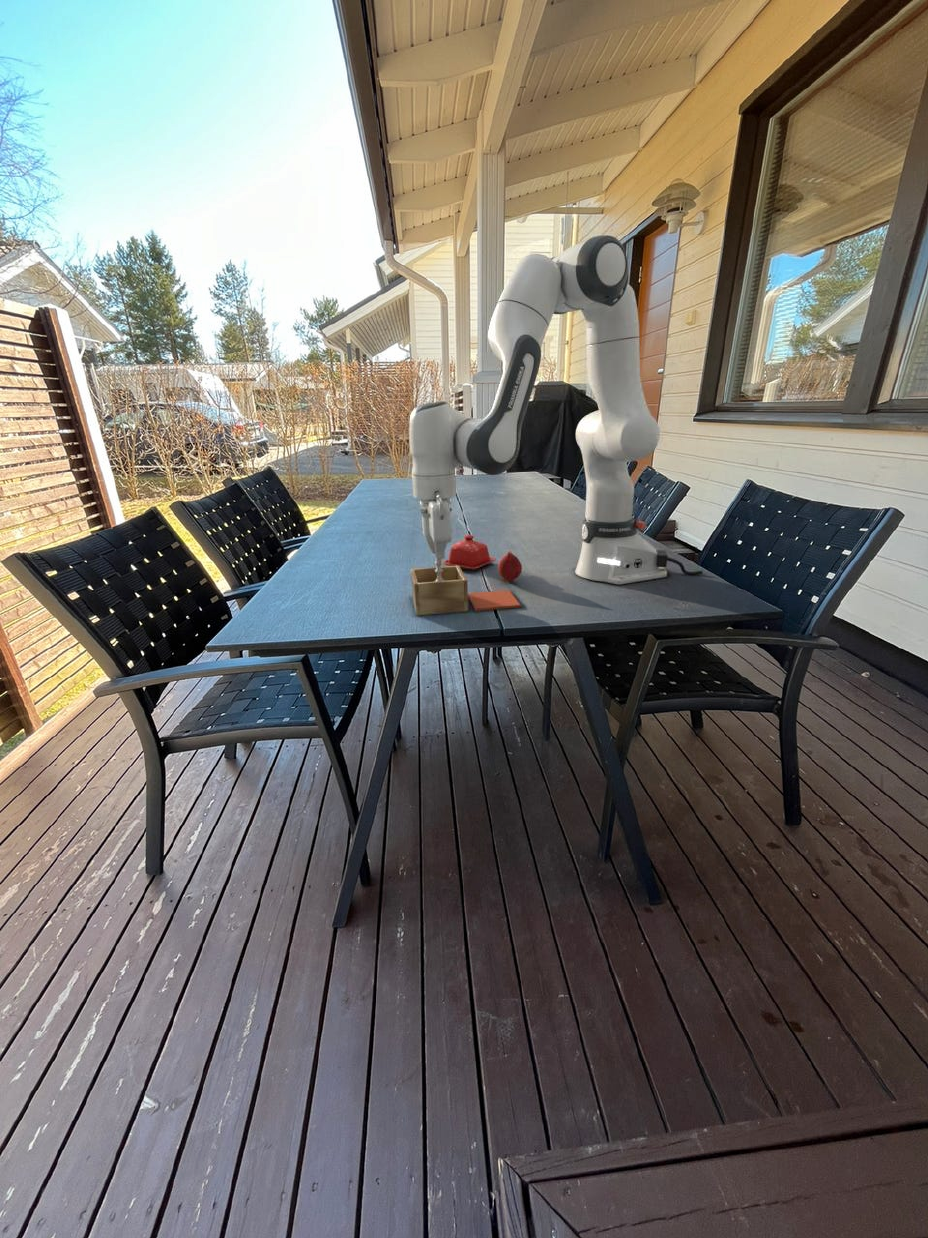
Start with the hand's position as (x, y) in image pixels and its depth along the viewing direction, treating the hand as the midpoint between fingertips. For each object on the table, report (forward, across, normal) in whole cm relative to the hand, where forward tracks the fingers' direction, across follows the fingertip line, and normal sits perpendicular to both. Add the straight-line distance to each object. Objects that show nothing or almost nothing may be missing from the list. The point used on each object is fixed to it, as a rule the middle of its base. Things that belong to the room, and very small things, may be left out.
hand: (438, 553), depth 112 cm
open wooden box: (+12, 0, 0) cm, 12 cm away
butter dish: (+12, +28, -12) cm, 32 cm away
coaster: (+12, -1, -12) cm, 17 cm away
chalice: (+9, 0, 0) cm, 9 cm away
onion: (+12, +11, -19) cm, 25 cm away
